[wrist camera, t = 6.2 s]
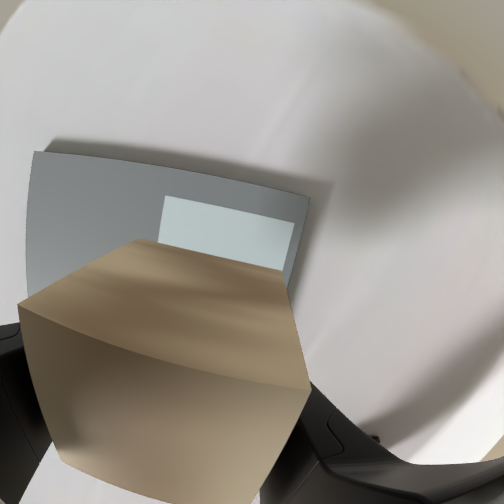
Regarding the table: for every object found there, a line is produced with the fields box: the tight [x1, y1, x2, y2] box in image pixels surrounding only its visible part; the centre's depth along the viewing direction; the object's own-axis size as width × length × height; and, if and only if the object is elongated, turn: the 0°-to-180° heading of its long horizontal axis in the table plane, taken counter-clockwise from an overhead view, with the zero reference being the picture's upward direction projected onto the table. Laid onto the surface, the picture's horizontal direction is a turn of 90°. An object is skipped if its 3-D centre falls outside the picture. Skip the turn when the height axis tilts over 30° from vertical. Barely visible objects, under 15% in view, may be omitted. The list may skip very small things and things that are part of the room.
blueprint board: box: [26, 151, 310, 298], centre depth 17 cm, size 18×18×1 cm
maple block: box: [17, 238, 312, 504], centre depth 7 cm, size 5×5×6 cm
